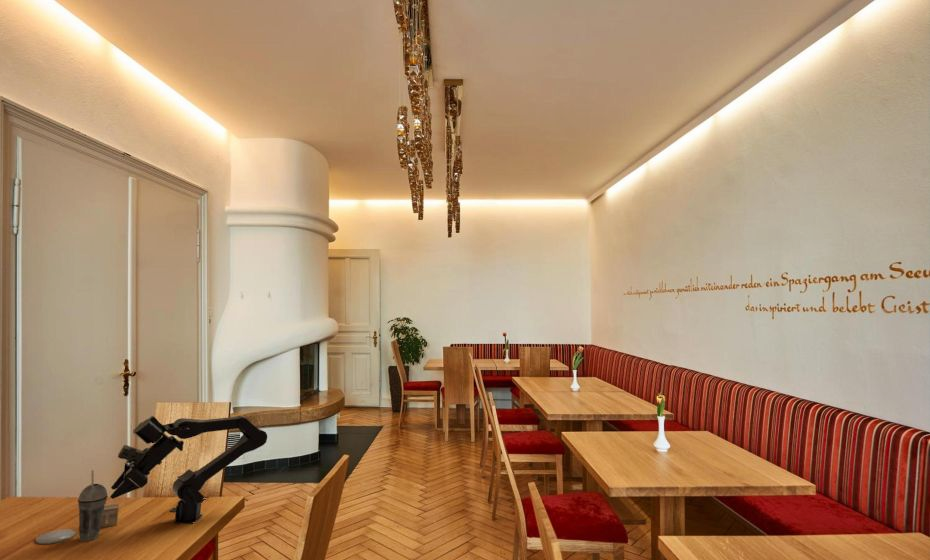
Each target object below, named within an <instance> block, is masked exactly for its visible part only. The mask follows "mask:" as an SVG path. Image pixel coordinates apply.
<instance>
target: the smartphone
mask: <svg viewBox="0 0 930 560" xmlns="http://www.w3.org/2000/svg"><path fill="white" fill-rule="evenodd" d="M203 496H204V497H203V498H209V499H210V496H206V495H203ZM204 500H206V499H203V500H202V502H203V501H204ZM206 501H207V500H206ZM202 502H201V503H202ZM203 503H204V502H203ZM203 503H202V504H203ZM176 506H178V504H176ZM176 506H174V507H173V508H171V509H170V510H169V513H176Z"/></svg>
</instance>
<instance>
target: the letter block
mask: <svg viewBox="0 0 930 560" xmlns="http://www.w3.org/2000/svg"><path fill="white" fill-rule="evenodd" d="M119 505H120V502H119V501H116V502H109V503H105V506H104V511H103V516H102V521H101V526H100V527H102V528H108V527H113V526H114V525H115V526H117V525H118V516H119ZM107 526H108V527H107ZM115 526H114V527H115Z"/></svg>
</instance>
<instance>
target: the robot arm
mask: <svg viewBox="0 0 930 560" xmlns="http://www.w3.org/2000/svg"><path fill="white" fill-rule="evenodd" d="M237 429H238V430H239V431H240V432H241V434H242V435H241V436H240V437H239V439H238V441H237V442H236V443H235V444H233V445H232V446H230V447H229V448H228V449H226V450H225V451H223V452H222V453H221V454H219V455H217V456H216V457H215V458H214V459H212V460H211V461H208V463H207V464H205V465H204V466H202V467H200V468H199V469H197V470H195V471H194V470H191V469H188V470H186V471H185V472H184V473H182V474H181V475H178V476H177V479H176V480H175V481H174V482H173V484H172V488H171V489H172V492H173V493H174V494H175V495H176V497H178V499H179V501H178V502H177V505H178V506H177V505H176V506H175V507H176V512H175V517H174V521H173V523H174V524H194V523H193V522H195V521H196V520H197V519H198V520H199V518H200V517H201V516H202V517H203V514H201V511H202V510H201V509H202V504H201V502H202V500H203V497H204V496H205V495H204V494H202V493H201V492H200V490H202V489H203V487H204V486H205V483H206V482H207V481H208V480H209V479H211V478H213V477H214V476H215V475H216V474H218V473H219V472H221V471H222V470H224V469H225V468H226V467H228V466H229V465H231V464H233V462H234V461H236V460H237V459H239V458H240V457H241V456H243V455H244V454H246V453H249V452H253V451H256V450H257V449H259V448H261V447H263V446H264V445H265V444H266V443H267V440H268V434H267V432H266V431H264V430H262V429H261V428H258V427H257V426H255V424H253V423H251V422H250V421H249V420H248V418H247V417H245V416H242V415H237V416H230V417H229V416H228V417H220V418H210V419H196V418H195V419H194V418H185V417H184V418H182V417H181V418H177V419H176V420H175V421H174V422H171V423H167V424H162V423H161V422H160V421H158V419H157V418H156V417H155V416H154V415H151V416H150V417H149V418H147V419H145V420H143V421H142V422H140V423H139V424H137V426H135V428H134V430H133V434H135V436H137V437H138V438H139V439H141V440H142V442H144V443H145V444H147V445H148V444H151V443H152V445H150V447H145V448H144V449H143V450H141V449H139V448H137V447H133V446H130V445H127V444H123V446H122V447H121V449H120V450H119V452H118V454H117V458H119V459H121V460H126V461H125V462H124V469H123V471H122V472H121V474H120V475H119V477H118V478H117V479H116V481H115V482H114V483H113V484H112V486H111V490H114V491H113V493H112V494H110V496H109V497H110V498H111V499H117V498H119V497H120V496H121V497H122V496H123V495H125V494H127V493H131V492H133V491H135V490H139V489H140V488H141V489H143V487H145V485H147V484H148V479H149V477H148V476H149V475H150V474H151V471H152V470H153V469H154V468H155V467H157V465H158V466H160V465H161V464H162V461H164V460H165V458H166V457H167V456H169V455H170V454H171V453H172V452H173V451H174V450H175V449H177V450H179V451H180V452H182V451H184V444H185V442H184V440H187V439H190V438H194V437H197V436H199V435H202V434H204V433H205V434H206V433H210V432H219V431H229V430H237ZM166 433H167V434H168V435H167V434H166ZM169 435H170V436H169ZM175 436H176V437H177V438H179V439H181V440H179V439H177V438H176V437H175ZM202 517H201V518H202ZM201 518H200V519H201ZM198 520H197V521H198ZM197 521H196V522H197ZM196 522H195V523H196Z"/></svg>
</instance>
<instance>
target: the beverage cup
mask: <svg viewBox="0 0 930 560" xmlns="http://www.w3.org/2000/svg"><path fill="white" fill-rule="evenodd" d="M90 475H91V482H90V483H91V484H89V485H87V486H86V487H85V488H83V489H82V491H81V492H80V493H79V496H78V499H77V503H78V504H77V505H78V508H79V511H78V512H79V514H78V515H79V516H78V520H79V521H78V522H79V523H78V528H79V530H78V535H79V539H80V540H79V541H80V542H89V541H93V539H94V540H96V539H98V538H97V537H99V533H100V532H101V531H100V530H101V528H100V526H101V521H102V516H103V511H104V506H105V504H107V499H108V492H107V489H106V487H105V486H104V485H102V484H100V483H94V482H95V481H94V479H95V478H94V477H95V475H94V469H93V470H91V474H90Z"/></svg>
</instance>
